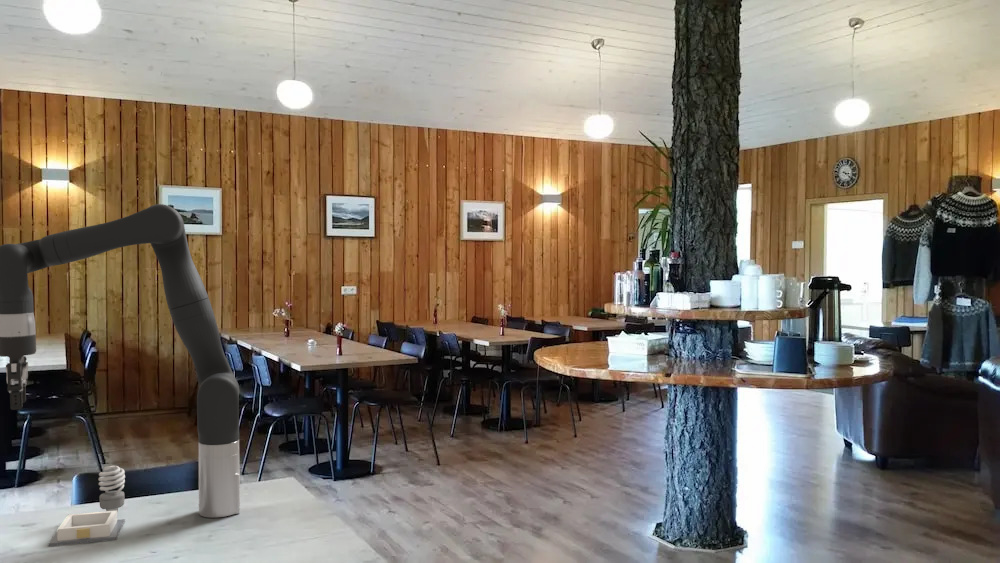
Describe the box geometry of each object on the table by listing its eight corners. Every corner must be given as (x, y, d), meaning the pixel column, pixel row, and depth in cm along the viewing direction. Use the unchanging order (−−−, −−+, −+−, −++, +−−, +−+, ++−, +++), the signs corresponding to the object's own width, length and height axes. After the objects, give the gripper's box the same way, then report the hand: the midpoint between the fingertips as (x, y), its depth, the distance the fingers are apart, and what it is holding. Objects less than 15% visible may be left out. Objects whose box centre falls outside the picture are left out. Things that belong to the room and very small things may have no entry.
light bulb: (130, 513, 183) (130, 463, 183) (111, 521, 178) (111, 469, 178) (112, 511, 185) (112, 461, 185) (93, 518, 180) (92, 467, 180)
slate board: (125, 521, 178) (125, 519, 178) (116, 539, 166) (116, 537, 166) (61, 527, 174) (61, 524, 174) (48, 546, 163) (48, 543, 163)
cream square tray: (117, 521, 176) (117, 510, 176) (108, 536, 166) (108, 525, 166) (68, 525, 173) (68, 514, 173) (56, 541, 163) (56, 530, 163)
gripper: (33, 335, 166) (35, 409, 167) (37, 330, 179) (40, 399, 180) (-9, 337, 163) (-6, 413, 164) (-1, 332, 176) (2, 402, 176)
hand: (18, 406), depth 172 cm, fingers open, 8 cm apart
